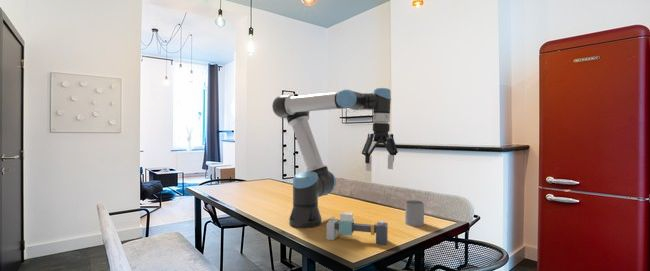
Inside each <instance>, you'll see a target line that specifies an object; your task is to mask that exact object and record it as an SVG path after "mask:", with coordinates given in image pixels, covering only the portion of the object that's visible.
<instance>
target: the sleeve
mask: <svg viewBox="0 0 650 271" xmlns="http://www.w3.org/2000/svg"><path fill="white" fill-rule="evenodd" d="M338 222H339V230H338V235H344V236H352V235H353V233H354V232H355V231H352V223H355V218H354V212H347V211H345V212H344V211H342V212H340V213H339V220H338Z"/></svg>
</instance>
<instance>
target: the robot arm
mask: <svg viewBox="0 0 650 271" xmlns="http://www.w3.org/2000/svg"><path fill="white" fill-rule="evenodd" d="M391 94H392V93H391V90H390V88H386V87H377V88H374V90H373V92H370V93H368V92H367V93H365V92H364V93H362V92H357V91H354V90H351V89H340V91H335V92H332V91H331V92H323V93H314V94H307V95H306V94H305V95H297V96H294V95H293V94H282V95H278V96H277V97H275V98H274V100H272V104H271V105H272V111H273V113H274V114H275V115H276V116H277V117H278V118H281V119H286V122H287V124H288V125H289V126H290V127H292V129H293V132H294V135H295V139H296V141H297V145H298V147H299V150H300V153H301V156H302V158H303V161H304V164H305V165H304V166H305V167H306V171H304V172H303V171H302V172H299V173H296V174H294V176H293V177H292V209H291V212H290V215H289V218H288V221H289V225H290V226H292V227H294V228H295V227H296V228H300V229H301V228H304V229H307V228H314V227H319V226H320V225H322V223H323V222H322V220H323V219H322V215H321V212H320V209H319V202H318V201H319V198H320V197H323V196H327V195H330V194H331V193H332V192H333V191H335V188H336V184H337V179H336V176H335V175H334V173H333V172H331V171H329V169H328V168H329V167H328V165H326V164H324V162H323V160H322V157H321V154H320V151H319V149H318V146H317V143H316V140H315V138H314V135H313V132H312V130H311V127H310V123H309V120H310V112H317V111H327V110H329V111H330V110H340V109H342V110H343V109H350V110H355V111H359V110H360V111H364V110H367V111H368V110H371V111H372V122H373V123H372V131H373V133H371V132H369V133H368V134H367V138H366V140H365V143H364V145H363V148H362V150H361V155H363V156H365V157H364V158H365V159H364V162H365V171H366V172H372V161H373V160H372V159H373V158H372V153H373V152H374V151H375V149H376V147H377V146H378V145H379V144H383V146H384V147H385V148H386V150H387V152H388V155H387V169H388V170H394V161H395V156H397V154H398V153H399V151H398V148H397V146H396V145H397V144H396V142H395V139H394V134H393V133H389V132H390V129H391V126H390V120H391V119H390V118H391V101H392V98H391Z"/></svg>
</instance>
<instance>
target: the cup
mask: <svg viewBox="0 0 650 271" xmlns="http://www.w3.org/2000/svg"><path fill="white" fill-rule="evenodd" d="M404 203H405V205H404V206H405V219H404V220H405V221H404V223H405V224H406V225H408V226H411V227H422V226H424V225H425V202H423V201H421V200H412V199H411V200H406V201H405V202H404Z"/></svg>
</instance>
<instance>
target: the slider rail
mask: <svg viewBox="0 0 650 271" xmlns="http://www.w3.org/2000/svg"><path fill="white" fill-rule="evenodd" d="M388 225H389V224H388V222H385V221H384V220H379V221H377V222H375V221H372V222H371V224H368V223H357V222H356V223H355V222H354V223H352V231H354V232H361V233H370V236H375V244H376V245H382V246H383V245H385V246H387V244H388V241H389V240H388V239H389V238H388V237H389V236H388V229H389V226H388ZM338 231H339V221H338V219H335V216H332V217H331V218H330V219H329V220H328V221H327V223H326V240H327V241H328V240H329V241H335V239H336V238H337V237H338Z"/></svg>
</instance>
